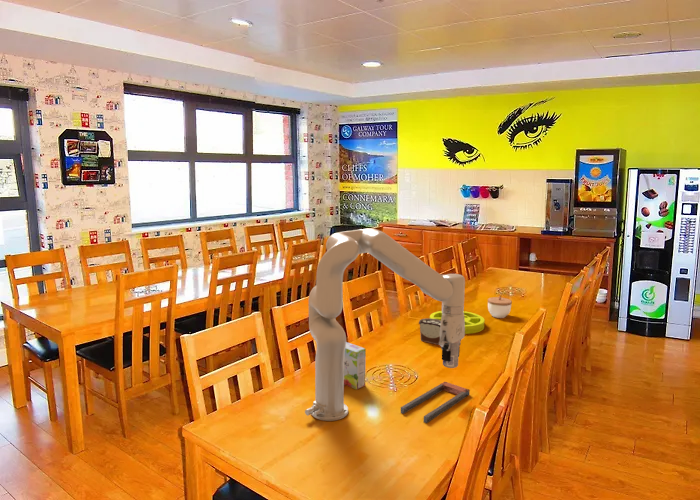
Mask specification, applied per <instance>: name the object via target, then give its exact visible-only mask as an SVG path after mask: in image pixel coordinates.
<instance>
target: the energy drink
mask: <svg viewBox="0 0 700 500" xmlns="http://www.w3.org/2000/svg"><path fill="white" fill-rule="evenodd" d="M445 341H447V340H446V339H445ZM445 345H447V346H448V343H445ZM450 351H451V358H450V362H448V361H444V360H442V366H444V367H445V368H449V369H455V368H457V367H458V366H459V357H458V355H459V356H460V351H459V341H457V342H455V343H453V344H451V346H450Z"/></svg>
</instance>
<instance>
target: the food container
mask: <svg viewBox="0 0 700 500" xmlns="http://www.w3.org/2000/svg"><path fill="white" fill-rule="evenodd" d="M418 325H419V330H420V331H419V332H420V341H421V342H426V343H430V344H435V345H439V341H440V325H441V321H440V320H437V319H430V318H422V319H419V321H418Z"/></svg>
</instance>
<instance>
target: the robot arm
mask: <svg viewBox="0 0 700 500" xmlns="http://www.w3.org/2000/svg"><path fill="white" fill-rule="evenodd" d="M325 249H326V251H325V253H324V254H323V255H322V257H321V258H320V260H319V262H318V264H317V267H316V276H315V277H316V281H315V282H316V283H315V286H314V287H312V289H311V290H310V292H309V295H308V328H309V333H310V335H311V337H312V338H313V339H314V341H315V343H316V352H315V359H314V369H315V373H314V374H315V379H314V382H315V385H314V386H315V389H314V390H315V393H314V394H315V400H314V401H313V402H312V405H311V407H309V408H307V409H305V410H304V413H305V415H306V416H310V415H311V416H312V417H313V418H315V419H317V420H320V421H324V422H326V421H327V422H332V421H333V422H334V421H338V420H341V419H343V418H346V416H347V415H348V414H349V407H348V406H347V404H345V403H344V401H345V399H344V398H345V385H344V353H345V347H346V342H347V336H346V332H345V330H344V328H343V326H342V325H341V324H340V323H339V322H338V321H337V320H336V318H337V317H338V316H340V315H341V314H342V311H343V307H344V301H343V299H344V297H343V296H344V295H343V294H344V292H343V291H344V289H343V281H344V273H345V270H346V268H347V267H348V266H349V265H350V264H351V263H352V262H354V261H355V260H356V259H357V258H358V256H359V255H361V254H365V253H367V254H369V255H371V256H372V257H374V259H376V260H378V261H379V262H380V263H382V264H383V265H384V266H386V267H387V268H388V269H390V270H391V271H392V272H393V273H395V274H396V275H398V276H400V277H401V278H403V279H405V280H406V281H409V282H410V283H412V284H414V285H415V286H416V287H418V288H419V289H420V291H421V292H422V293H423V294H425V295H427V296H428V297H430V298H432V299H434V300H435V301H439V302H441V311H442V318H441V325H440V341H439V344H438V345H439V346H440V348H441V360H442V361H443V360H444V361H448V362H450V358H451V351H450V346H451V344H453V343H455V342H457V341H459V352H460V351H461V350H460V347H461V342H462V340H463V339H465V335H466V334H465V319H464V307H465V305H464V304H465V287H466V278H465V276H464V275H462V274H460V273H459V274H458V273H447V274H441V273H439V272H438V271H436V270H435V269H434V268H432V267H431V266H429V265H428V264H426V263H425V262H424V261H422V260H421V259H420V258H419V257H417V256H416V255H415V254H414V253H412V252H410V251H409V250H408V249H407V248H405V247H404V246H403V245H401V244H400V243H399V242H398V241H396V240H395V239H394V238H392V237H391V236H390V235H388V234H387V233H386V232H384V231H382V230H379V229H376V228H373V227H372V228H371V227H369V228H363V229H362V228H361V229H353V230H346V231H339V232H335V233H332V234H331V235H330V236H329V237H328V238H327V240H326V243H325ZM445 339H446V340H447V341H445ZM445 343H448V346H447V345H445ZM459 357H460V354H459V355H458V358H459Z"/></svg>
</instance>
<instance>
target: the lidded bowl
mask: <svg viewBox="0 0 700 500" xmlns="http://www.w3.org/2000/svg"><path fill="white" fill-rule="evenodd" d="M512 303H513V302H512V300H511V299H509V298H507V297H506V298H505V297H502V296H495V297H494V296H493V297H489V298H487V310H488V312H489V314H490V315H491V316H492V317H493V318H496V319H505V318H506V317H507V316H509V314H510V312H511V308H512Z"/></svg>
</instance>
